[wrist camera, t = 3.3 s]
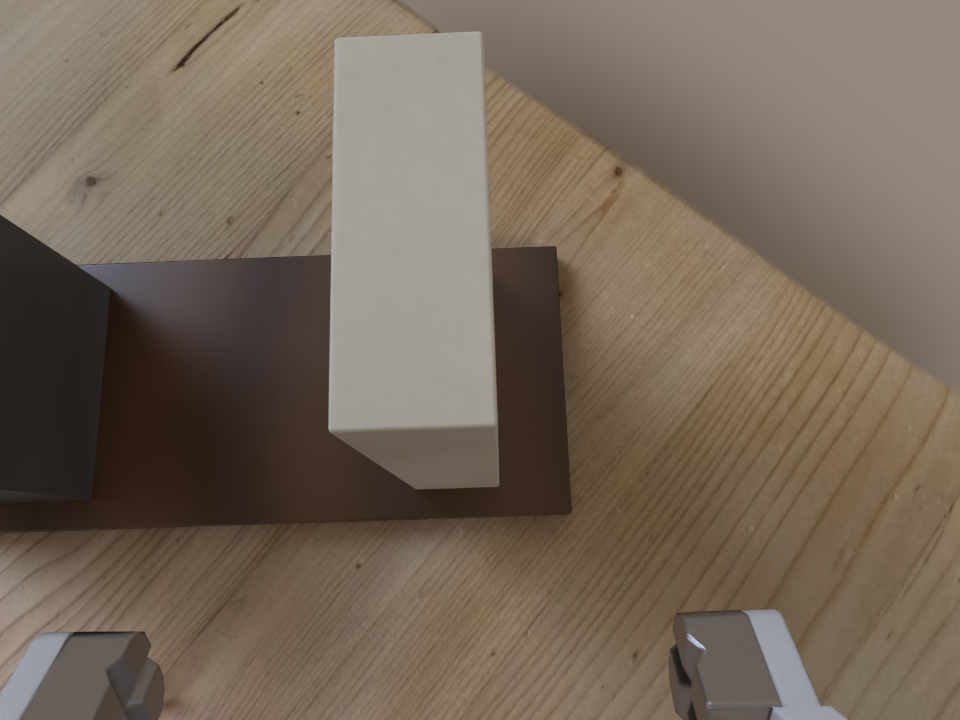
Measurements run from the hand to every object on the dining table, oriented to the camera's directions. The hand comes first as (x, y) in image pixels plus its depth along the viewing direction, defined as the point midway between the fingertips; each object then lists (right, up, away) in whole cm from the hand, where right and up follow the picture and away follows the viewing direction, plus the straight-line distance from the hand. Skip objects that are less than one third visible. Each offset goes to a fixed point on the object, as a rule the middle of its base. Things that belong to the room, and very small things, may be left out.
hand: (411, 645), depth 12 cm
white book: (0, +4, +16) cm, 17 cm away
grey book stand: (-7, +3, +17) cm, 19 cm away
